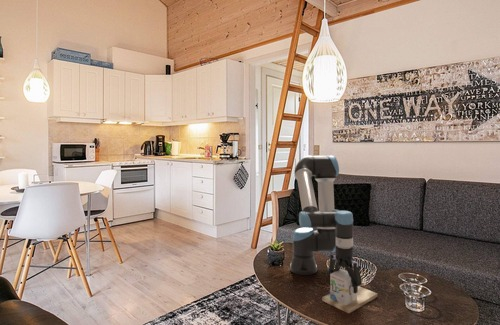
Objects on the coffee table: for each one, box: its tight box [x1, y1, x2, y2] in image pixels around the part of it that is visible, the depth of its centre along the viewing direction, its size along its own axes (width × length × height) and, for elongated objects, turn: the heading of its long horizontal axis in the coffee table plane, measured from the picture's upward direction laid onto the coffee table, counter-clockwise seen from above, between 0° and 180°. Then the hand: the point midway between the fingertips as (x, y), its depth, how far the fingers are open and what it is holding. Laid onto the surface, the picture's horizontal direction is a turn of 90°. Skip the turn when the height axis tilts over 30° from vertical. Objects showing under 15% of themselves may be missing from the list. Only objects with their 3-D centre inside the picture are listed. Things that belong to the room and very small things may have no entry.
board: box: [321, 285, 378, 314], centre depth 141 cm, size 14×22×2 cm, turn 127°
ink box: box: [329, 268, 357, 305], centre depth 138 cm, size 8×8×12 cm
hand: (344, 295), depth 139 cm, fingers open, 9 cm apart
